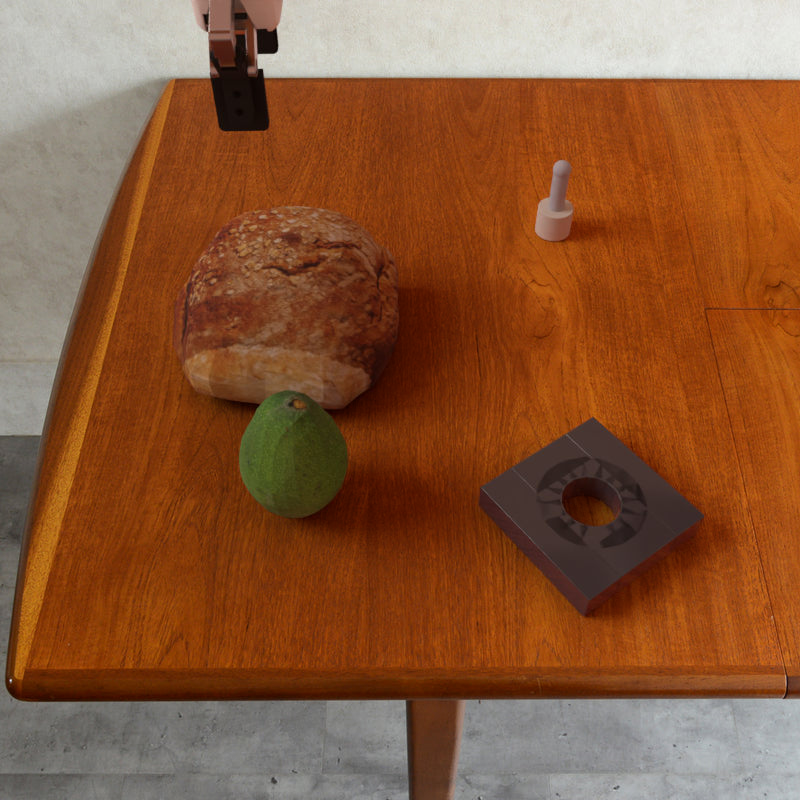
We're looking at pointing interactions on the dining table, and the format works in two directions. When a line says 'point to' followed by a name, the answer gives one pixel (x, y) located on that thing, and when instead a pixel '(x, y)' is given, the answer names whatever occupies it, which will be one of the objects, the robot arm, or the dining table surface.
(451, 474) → the dining table surface
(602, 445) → the sink plate
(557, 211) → the stopper
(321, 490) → the fruit
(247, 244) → the bread
